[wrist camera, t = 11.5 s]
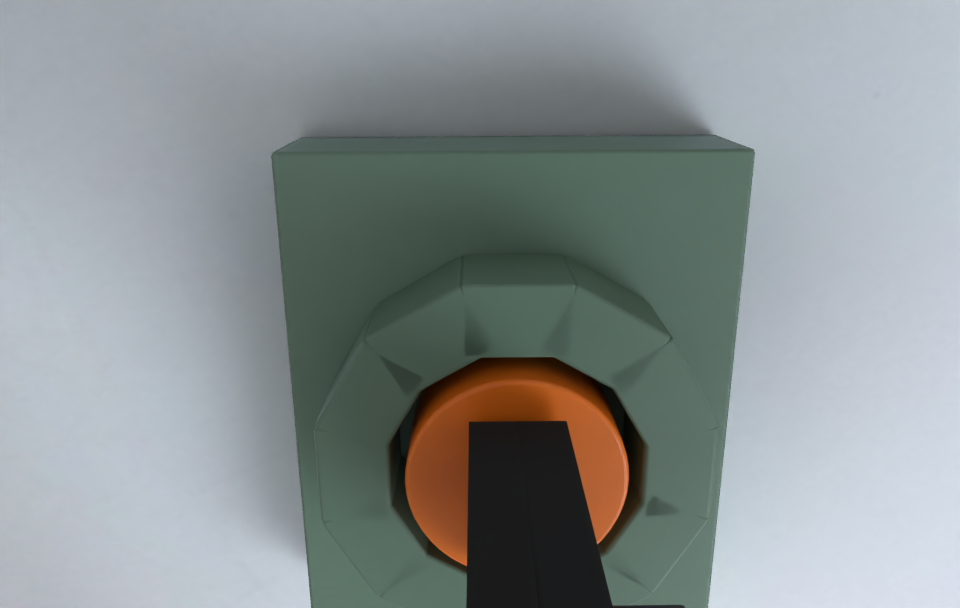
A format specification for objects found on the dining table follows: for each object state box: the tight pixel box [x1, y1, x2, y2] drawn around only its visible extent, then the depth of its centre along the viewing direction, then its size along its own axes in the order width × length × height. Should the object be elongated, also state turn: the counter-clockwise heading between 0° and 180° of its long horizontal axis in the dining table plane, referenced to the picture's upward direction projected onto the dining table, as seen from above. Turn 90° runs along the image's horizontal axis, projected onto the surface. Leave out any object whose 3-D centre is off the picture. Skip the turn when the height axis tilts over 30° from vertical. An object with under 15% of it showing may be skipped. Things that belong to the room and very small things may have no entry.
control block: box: [271, 135, 755, 608], centre depth 15 cm, size 10×8×4 cm
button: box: [405, 357, 629, 566], centre depth 13 cm, size 4×4×2 cm
